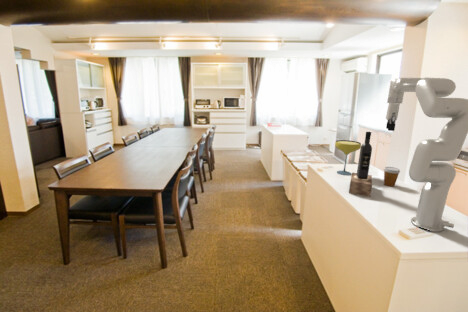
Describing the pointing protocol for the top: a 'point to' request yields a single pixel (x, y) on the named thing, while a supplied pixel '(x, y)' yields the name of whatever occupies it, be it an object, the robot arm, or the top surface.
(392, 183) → the disposable coffee cup
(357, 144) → the cocktail glass
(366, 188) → the brown rectangular block
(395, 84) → the robot arm
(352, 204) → the top surface
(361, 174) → the wine bottle
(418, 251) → the top surface
